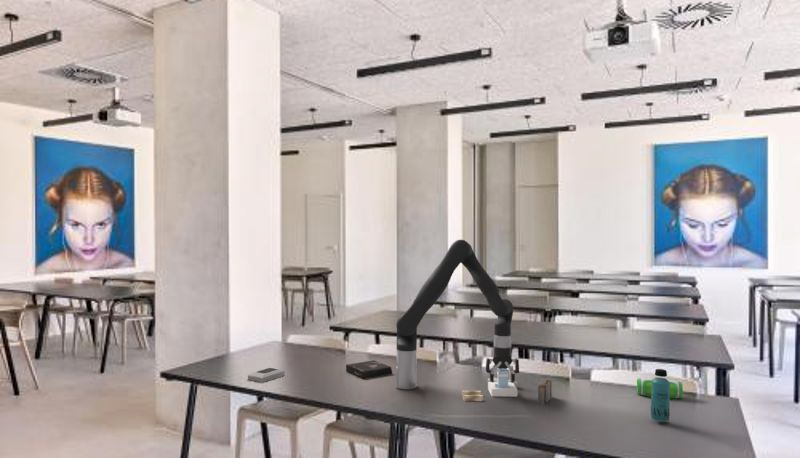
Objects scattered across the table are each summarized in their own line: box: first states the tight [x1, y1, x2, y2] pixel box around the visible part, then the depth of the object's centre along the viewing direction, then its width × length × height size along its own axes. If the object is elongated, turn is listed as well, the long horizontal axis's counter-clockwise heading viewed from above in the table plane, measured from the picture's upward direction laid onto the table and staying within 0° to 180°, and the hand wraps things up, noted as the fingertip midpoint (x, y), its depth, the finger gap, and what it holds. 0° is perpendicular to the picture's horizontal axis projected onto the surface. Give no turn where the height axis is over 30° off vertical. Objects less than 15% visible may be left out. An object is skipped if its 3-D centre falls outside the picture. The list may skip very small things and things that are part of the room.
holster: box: [461, 390, 484, 402], centre depth 238 cm, size 8×8×3 cm
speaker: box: [636, 377, 684, 399], centre depth 244 cm, size 18×7×8 cm, turn 71°
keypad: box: [247, 366, 285, 384], centre depth 272 cm, size 10×4×15 cm
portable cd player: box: [345, 359, 393, 380], centre depth 282 cm, size 16×17×4 cm
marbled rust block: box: [537, 379, 553, 405], centre depth 238 cm, size 11×3×10 cm, turn 150°
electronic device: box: [487, 365, 519, 389], centre depth 260 cm, size 5×10×15 cm
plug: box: [496, 368, 509, 388], centre depth 245 cm, size 4×4×10 cm
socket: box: [487, 381, 518, 398], centre depth 245 cm, size 11×11×4 cm
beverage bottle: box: [650, 368, 671, 422], centre depth 211 cm, size 6×7×20 cm
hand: (502, 382), depth 245 cm, fingers open, 8 cm apart
